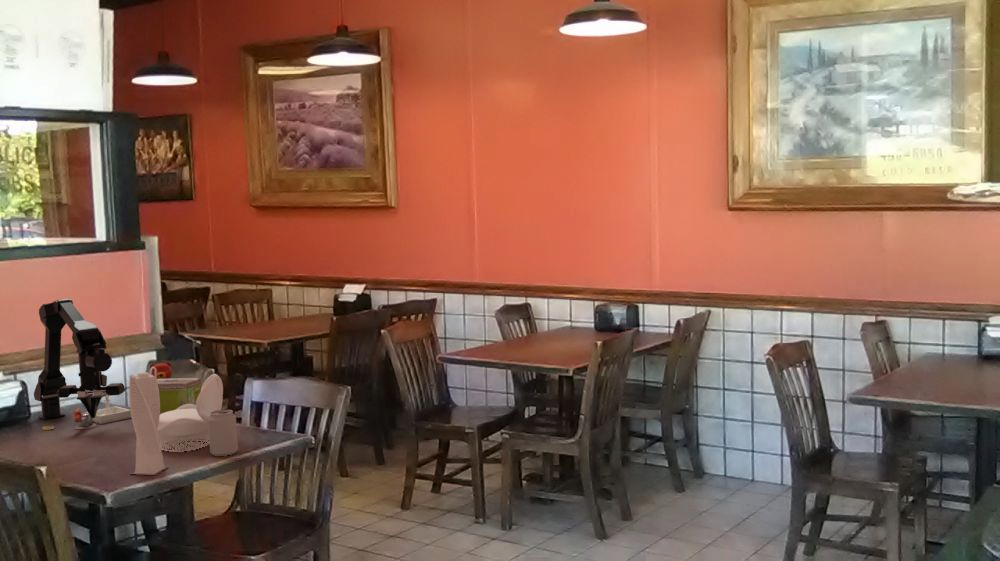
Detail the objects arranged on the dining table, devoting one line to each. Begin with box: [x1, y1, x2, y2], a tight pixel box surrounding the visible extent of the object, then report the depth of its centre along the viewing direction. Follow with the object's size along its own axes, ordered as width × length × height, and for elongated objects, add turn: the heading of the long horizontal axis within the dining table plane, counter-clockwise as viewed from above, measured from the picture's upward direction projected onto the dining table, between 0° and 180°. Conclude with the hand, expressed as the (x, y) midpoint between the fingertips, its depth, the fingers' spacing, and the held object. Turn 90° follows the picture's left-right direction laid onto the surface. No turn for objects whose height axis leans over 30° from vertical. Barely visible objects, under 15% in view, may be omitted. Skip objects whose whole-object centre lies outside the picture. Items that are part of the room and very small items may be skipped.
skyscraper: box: [128, 367, 169, 476], centre depth 271 cm, size 8×8×28 cm
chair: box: [157, 373, 224, 453], centre depth 299 cm, size 20×20×20 cm
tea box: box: [157, 377, 203, 414], centre depth 323 cm, size 15×10×15 cm, turn 80°
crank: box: [72, 407, 94, 427], centre depth 324 cm, size 12×4×7 cm, turn 7°
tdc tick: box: [41, 425, 54, 431], centre depth 327 cm, size 3×1×1 cm, turn 97°
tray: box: [84, 405, 132, 425], centre depth 339 cm, size 11×11×2 cm
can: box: [208, 409, 239, 457], centre depth 288 cm, size 8×8×12 cm
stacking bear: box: [149, 362, 173, 379], centre depth 338 cm, size 11×10×18 cm
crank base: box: [74, 422, 98, 430], centre depth 329 cm, size 6×6×1 cm
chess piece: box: [101, 394, 112, 416], centre depth 339 cm, size 5×5×10 cm
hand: (93, 417), depth 321 cm, fingers closed
